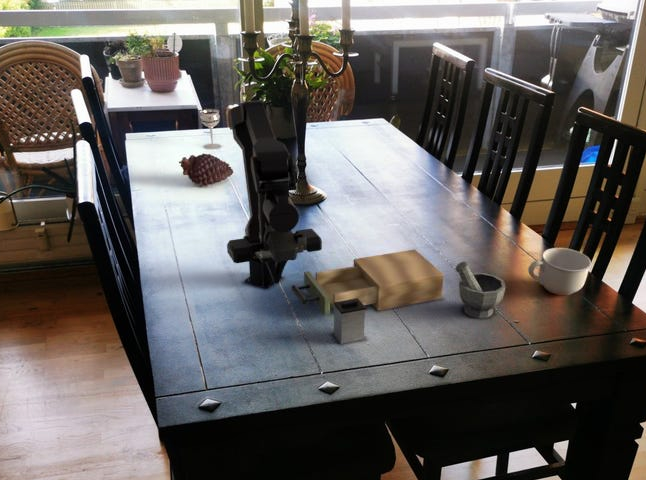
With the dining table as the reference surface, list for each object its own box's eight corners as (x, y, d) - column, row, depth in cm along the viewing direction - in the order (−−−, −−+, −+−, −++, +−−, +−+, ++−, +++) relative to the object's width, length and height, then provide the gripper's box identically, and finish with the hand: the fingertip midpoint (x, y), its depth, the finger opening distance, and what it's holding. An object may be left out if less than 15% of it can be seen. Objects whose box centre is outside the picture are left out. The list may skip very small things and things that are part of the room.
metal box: (340, 344, 147) (341, 308, 142) (333, 334, 150) (333, 299, 145) (364, 339, 148) (365, 304, 144) (356, 329, 152) (357, 294, 147)
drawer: (306, 319, 153) (306, 301, 151) (287, 292, 163) (286, 274, 161) (386, 304, 159) (387, 286, 157) (363, 279, 169) (363, 262, 167)
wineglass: (226, 145, 257) (223, 110, 250) (213, 150, 252) (210, 115, 245) (211, 142, 260) (208, 108, 253) (198, 147, 255) (195, 112, 248)
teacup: (575, 278, 173) (582, 247, 168) (590, 300, 164) (598, 268, 159) (517, 278, 172) (522, 247, 168) (529, 300, 163) (535, 268, 159)
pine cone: (223, 172, 233) (235, 149, 225) (231, 196, 229) (243, 173, 221) (170, 166, 223) (181, 142, 215) (178, 191, 218) (189, 167, 211)
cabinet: (378, 310, 158) (379, 285, 155) (352, 283, 169) (353, 259, 166) (441, 298, 163) (443, 274, 160) (412, 272, 174) (414, 249, 171)
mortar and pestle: (491, 298, 164) (498, 249, 157) (508, 319, 156) (516, 268, 150) (443, 303, 162) (449, 253, 155) (458, 324, 154) (465, 273, 147)
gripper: (238, 234, 136) (243, 307, 144) (332, 221, 142) (331, 292, 150) (223, 213, 144) (229, 283, 153) (312, 201, 150) (312, 269, 159)
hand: (276, 282), depth 154 cm, fingers closed
